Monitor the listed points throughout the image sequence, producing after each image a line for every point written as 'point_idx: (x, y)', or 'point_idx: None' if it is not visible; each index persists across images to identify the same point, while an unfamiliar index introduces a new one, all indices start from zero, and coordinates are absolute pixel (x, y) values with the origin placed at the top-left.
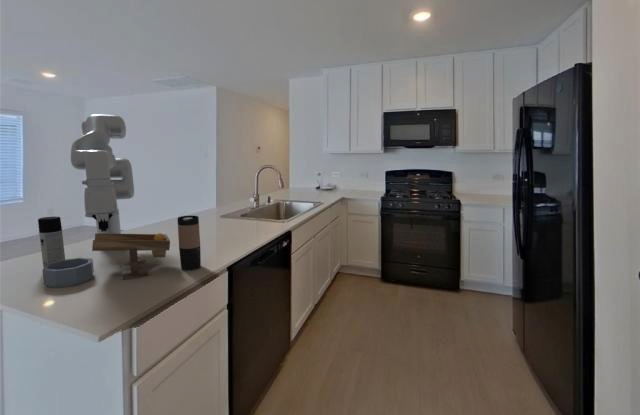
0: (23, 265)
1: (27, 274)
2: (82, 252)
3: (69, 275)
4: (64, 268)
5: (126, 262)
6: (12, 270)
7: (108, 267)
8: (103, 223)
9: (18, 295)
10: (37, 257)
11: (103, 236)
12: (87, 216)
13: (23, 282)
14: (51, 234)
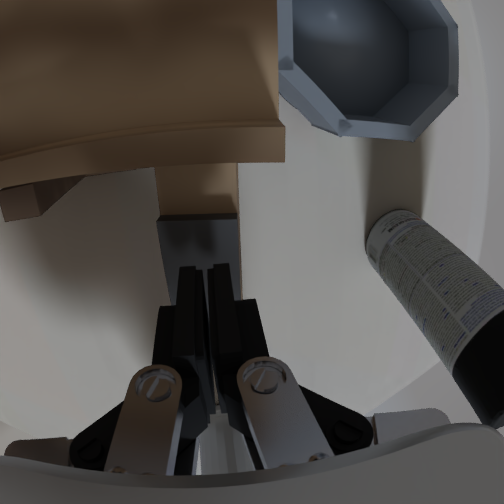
0: None
1: (453, 217)
2: (308, 388)
3: None
4: (384, 119)
5: (117, 171)
6: None
7: None
8: (200, 334)
9: (455, 7)
10: (407, 367)
11: (195, 124)
12: (421, 416)
13: (463, 132)
14: (498, 301)
